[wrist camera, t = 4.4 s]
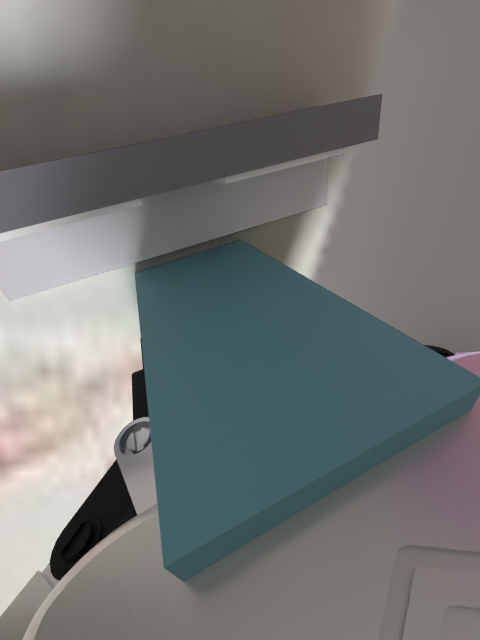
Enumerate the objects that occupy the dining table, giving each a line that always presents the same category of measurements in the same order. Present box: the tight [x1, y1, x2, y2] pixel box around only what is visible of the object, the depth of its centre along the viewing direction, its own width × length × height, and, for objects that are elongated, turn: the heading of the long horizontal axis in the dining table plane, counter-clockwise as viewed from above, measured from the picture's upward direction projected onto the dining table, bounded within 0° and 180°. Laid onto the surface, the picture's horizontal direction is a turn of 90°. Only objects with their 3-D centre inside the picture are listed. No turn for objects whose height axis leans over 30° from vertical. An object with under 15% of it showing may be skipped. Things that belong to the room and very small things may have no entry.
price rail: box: [0, 94, 382, 301], centre depth 9 cm, size 4×14×3 cm, turn 101°
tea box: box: [135, 240, 480, 582], centre depth 9 cm, size 5×7×10 cm
